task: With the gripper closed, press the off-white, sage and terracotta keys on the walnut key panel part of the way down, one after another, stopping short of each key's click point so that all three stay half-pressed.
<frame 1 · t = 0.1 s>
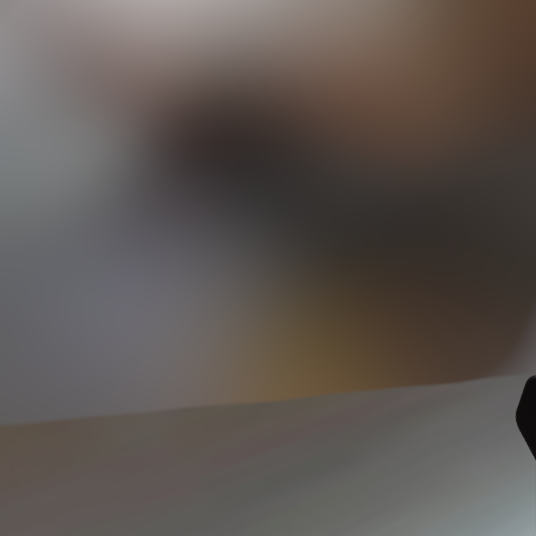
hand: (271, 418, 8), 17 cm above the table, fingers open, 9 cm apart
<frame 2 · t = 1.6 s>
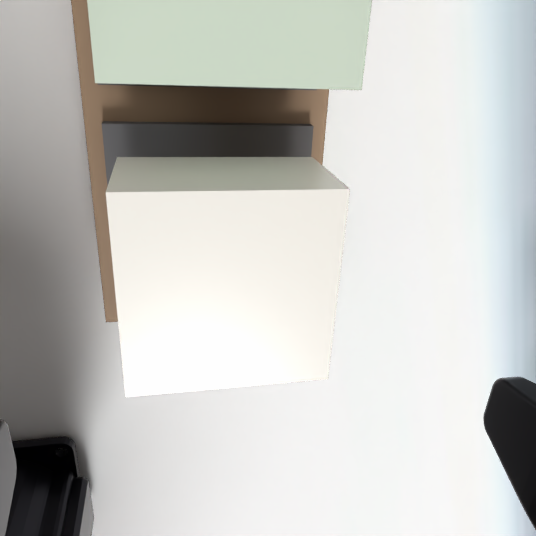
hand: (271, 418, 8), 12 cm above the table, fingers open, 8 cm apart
key white: (224, 270, 13), point 7 cm above the table, slide at 0.0 cm
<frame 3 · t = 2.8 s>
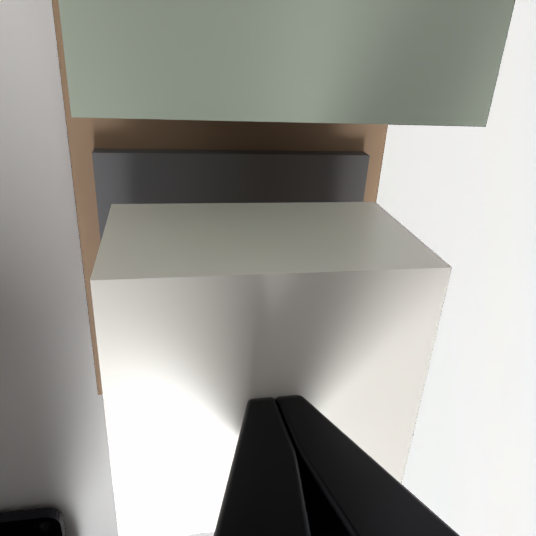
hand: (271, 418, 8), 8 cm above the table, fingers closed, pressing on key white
key white: (257, 359, 9), point 7 cm above the table, slide at 0.0 cm, touching gripper
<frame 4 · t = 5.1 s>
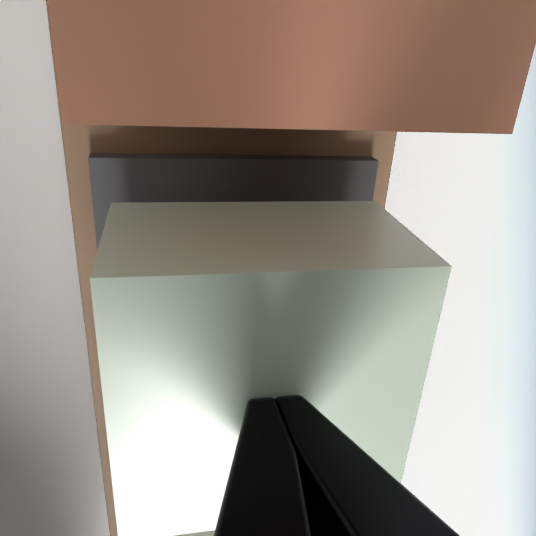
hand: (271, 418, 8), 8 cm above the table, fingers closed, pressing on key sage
key sage: (256, 358, 9), point 6 cm above the table, slide at 0.6 cm, touching gripper
key panel: (221, 233, 15), on the table
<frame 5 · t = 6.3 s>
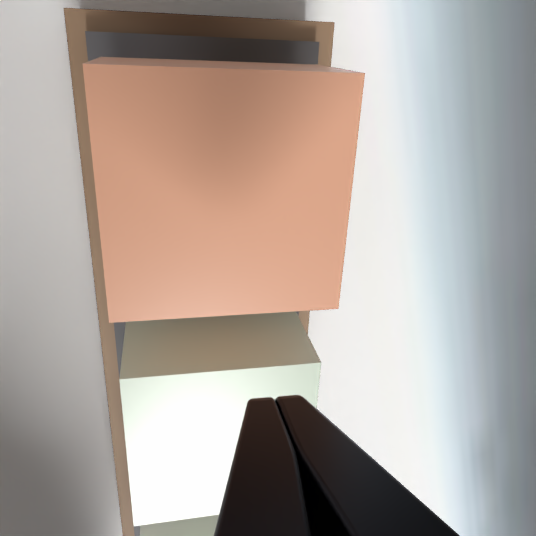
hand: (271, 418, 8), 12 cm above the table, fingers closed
key sage: (217, 410, 15), point 6 cm above the table, slide at 0.8 cm
key panel: (202, 311, 20), on the table
key terracotta: (221, 184, 11), point 7 cm above the table, slide at 0.0 cm
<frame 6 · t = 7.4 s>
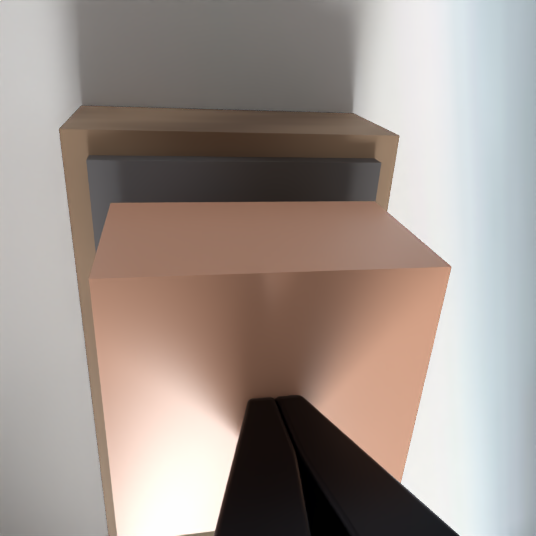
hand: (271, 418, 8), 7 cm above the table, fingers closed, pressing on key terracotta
key panel: (219, 423, 17), on the table
key terracotta: (256, 358, 9), point 6 cm above the table, slide at 0.7 cm, touching gripper
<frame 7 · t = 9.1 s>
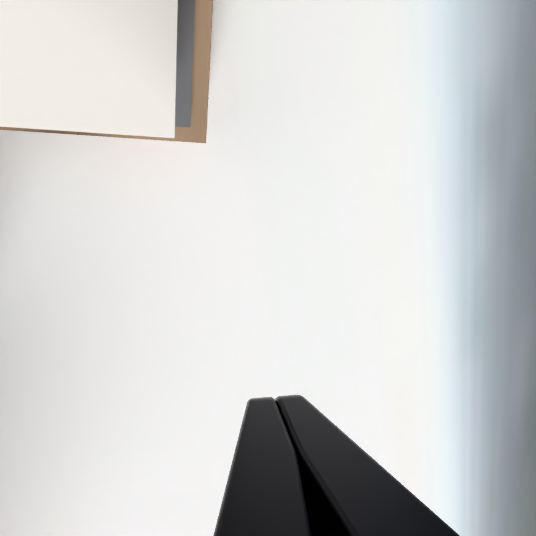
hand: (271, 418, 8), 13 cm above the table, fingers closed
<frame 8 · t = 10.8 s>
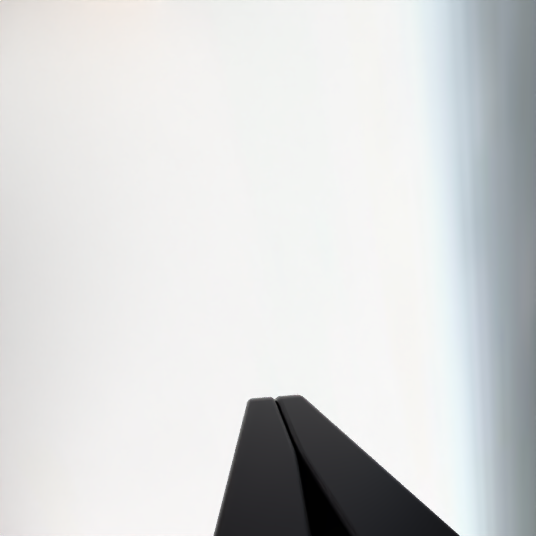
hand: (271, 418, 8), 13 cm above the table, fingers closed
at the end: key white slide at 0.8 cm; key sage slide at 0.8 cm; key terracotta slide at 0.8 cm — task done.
